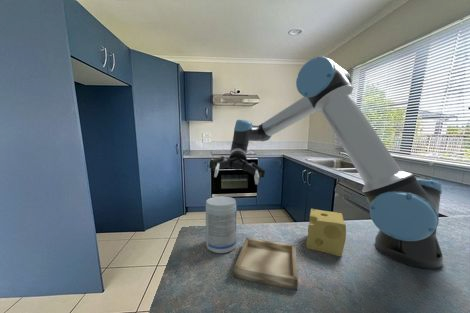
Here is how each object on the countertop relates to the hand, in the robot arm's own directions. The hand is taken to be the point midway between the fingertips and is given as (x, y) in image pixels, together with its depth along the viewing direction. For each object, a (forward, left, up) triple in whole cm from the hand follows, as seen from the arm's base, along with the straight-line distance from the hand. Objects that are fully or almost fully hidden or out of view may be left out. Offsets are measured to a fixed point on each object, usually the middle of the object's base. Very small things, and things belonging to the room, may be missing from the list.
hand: (236, 177), depth 62 cm
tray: (-11, +9, -22) cm, 26 cm away
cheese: (-28, -6, -22) cm, 36 cm away
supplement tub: (+4, +4, -22) cm, 22 cm away
